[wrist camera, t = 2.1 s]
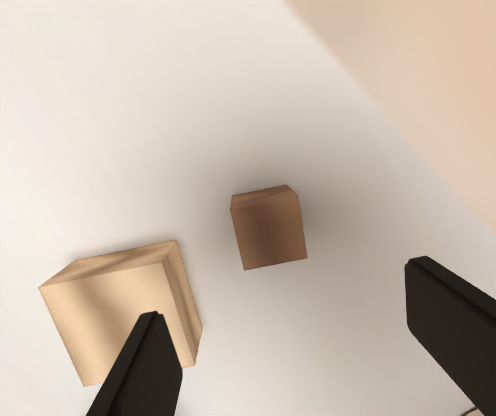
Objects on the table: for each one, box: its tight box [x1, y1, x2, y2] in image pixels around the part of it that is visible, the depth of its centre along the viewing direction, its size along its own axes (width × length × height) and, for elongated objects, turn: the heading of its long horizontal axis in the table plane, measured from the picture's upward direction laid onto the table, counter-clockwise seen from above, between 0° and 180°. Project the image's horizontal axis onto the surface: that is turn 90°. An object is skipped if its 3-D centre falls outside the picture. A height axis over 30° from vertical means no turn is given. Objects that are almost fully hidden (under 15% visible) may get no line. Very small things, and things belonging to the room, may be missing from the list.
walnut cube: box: [230, 185, 308, 271], centre depth 22 cm, size 5×5×5 cm
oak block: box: [38, 240, 202, 387], centre depth 24 cm, size 10×10×5 cm
